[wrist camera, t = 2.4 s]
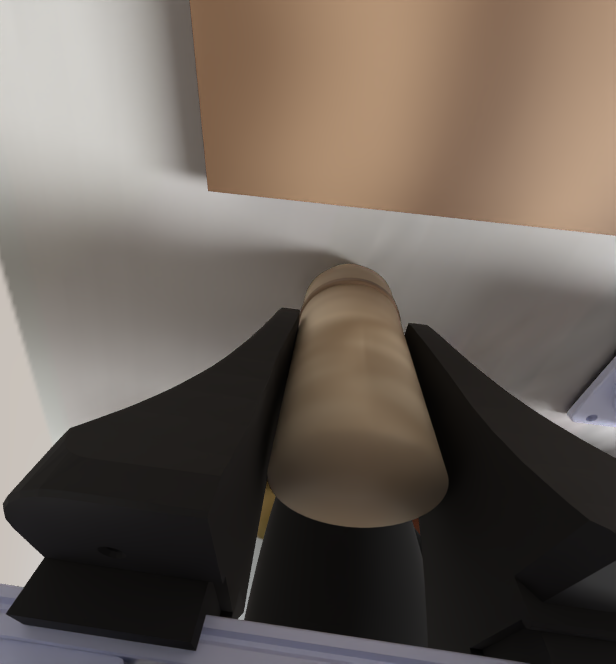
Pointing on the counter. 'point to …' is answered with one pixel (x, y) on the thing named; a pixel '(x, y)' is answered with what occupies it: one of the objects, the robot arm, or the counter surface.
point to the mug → (340, 579)
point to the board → (414, 106)
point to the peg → (354, 411)
